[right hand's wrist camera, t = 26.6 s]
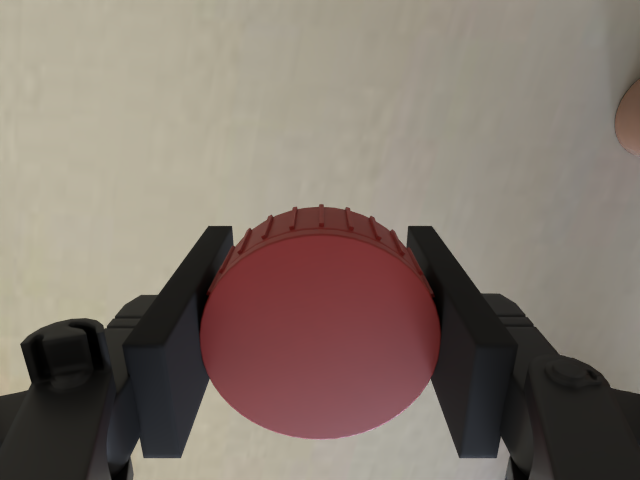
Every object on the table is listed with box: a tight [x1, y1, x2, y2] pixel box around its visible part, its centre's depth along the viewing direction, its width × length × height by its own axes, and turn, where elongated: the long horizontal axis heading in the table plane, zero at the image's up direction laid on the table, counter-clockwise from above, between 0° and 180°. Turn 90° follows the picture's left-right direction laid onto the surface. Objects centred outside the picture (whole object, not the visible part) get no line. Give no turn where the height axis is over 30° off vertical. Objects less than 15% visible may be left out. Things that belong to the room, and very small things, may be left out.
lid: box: [199, 204, 441, 440], centre depth 11 cm, size 6×6×2 cm
